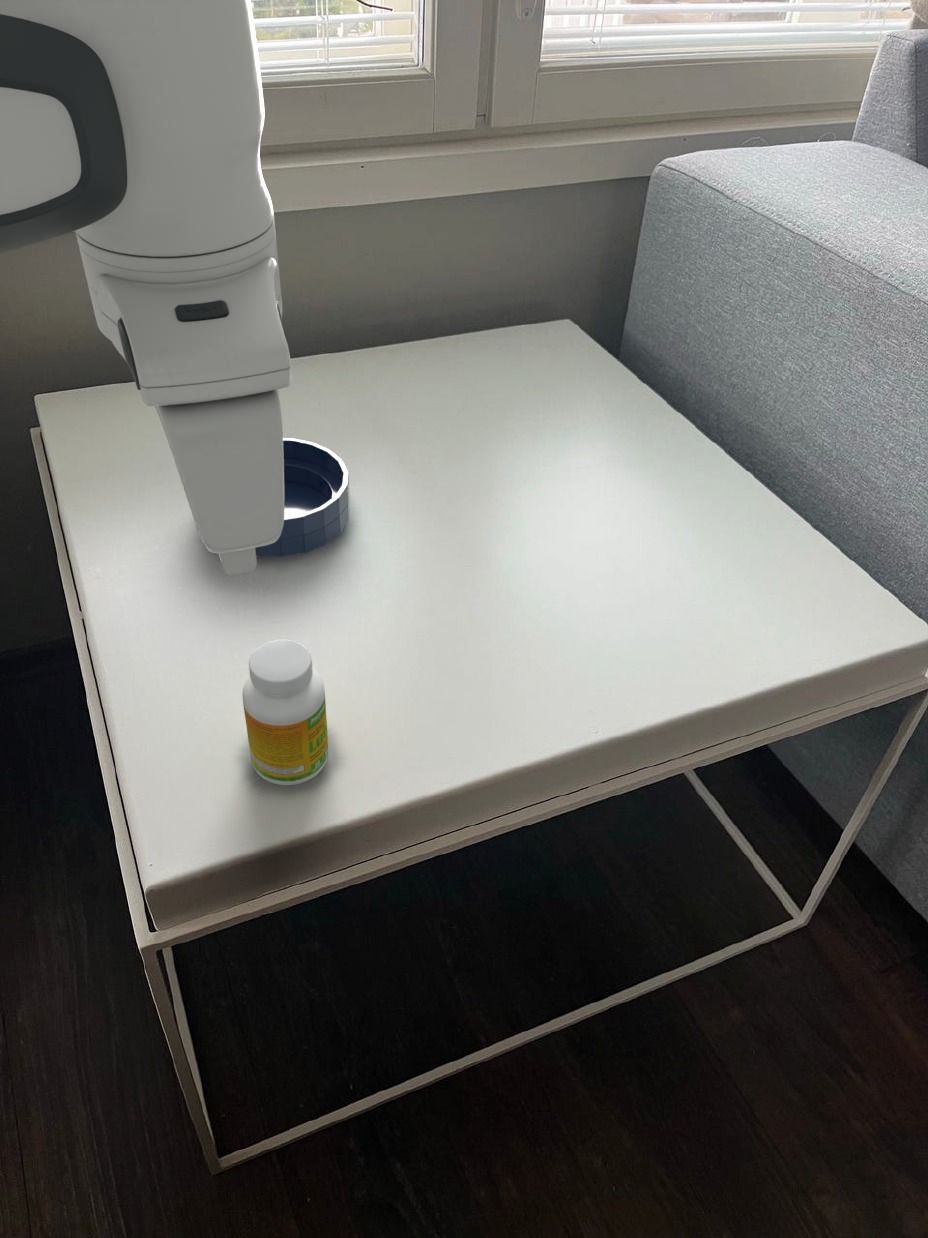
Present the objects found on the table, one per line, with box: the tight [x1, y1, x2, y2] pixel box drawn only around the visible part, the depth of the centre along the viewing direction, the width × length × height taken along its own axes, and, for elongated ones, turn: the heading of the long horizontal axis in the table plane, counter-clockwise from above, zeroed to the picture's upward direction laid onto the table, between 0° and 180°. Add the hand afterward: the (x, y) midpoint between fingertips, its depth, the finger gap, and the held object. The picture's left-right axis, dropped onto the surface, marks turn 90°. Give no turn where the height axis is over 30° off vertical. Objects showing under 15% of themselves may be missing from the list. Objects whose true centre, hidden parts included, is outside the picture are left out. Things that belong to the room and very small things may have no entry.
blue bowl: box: [255, 437, 351, 558], centre depth 88 cm, size 13×13×4 cm
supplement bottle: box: [242, 638, 329, 786], centre depth 65 cm, size 5×5×10 cm
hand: (223, 515), depth 56 cm, fingers open, 8 cm apart
